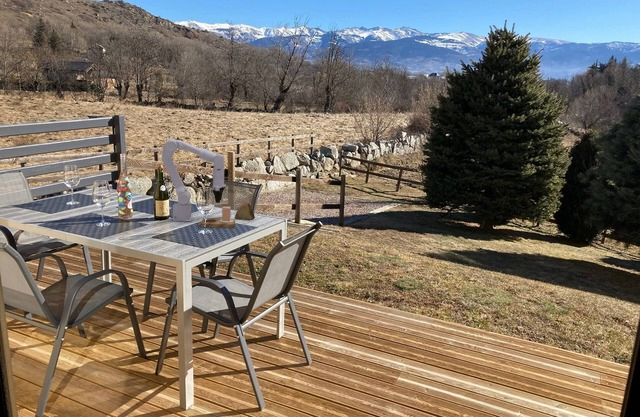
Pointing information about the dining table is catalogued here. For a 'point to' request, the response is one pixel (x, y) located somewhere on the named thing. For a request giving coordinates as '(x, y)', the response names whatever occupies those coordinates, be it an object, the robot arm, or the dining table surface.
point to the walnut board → (216, 223)
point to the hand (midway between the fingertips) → (218, 201)
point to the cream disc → (227, 221)
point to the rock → (245, 212)
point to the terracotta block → (226, 213)
